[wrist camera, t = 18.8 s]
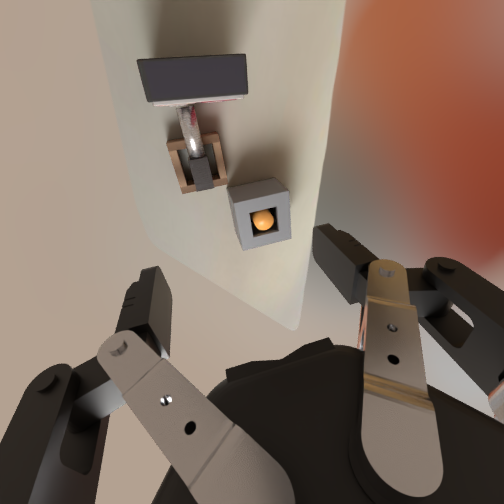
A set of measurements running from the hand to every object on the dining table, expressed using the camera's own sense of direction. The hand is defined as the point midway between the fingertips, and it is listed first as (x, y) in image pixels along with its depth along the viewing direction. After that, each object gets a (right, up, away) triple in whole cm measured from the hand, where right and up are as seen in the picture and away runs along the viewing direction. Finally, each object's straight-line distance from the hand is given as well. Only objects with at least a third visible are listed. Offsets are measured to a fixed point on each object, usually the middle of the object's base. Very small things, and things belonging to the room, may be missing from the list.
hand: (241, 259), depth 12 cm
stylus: (-9, +21, +22) cm, 32 cm away
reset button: (+2, +9, +36) cm, 37 cm away
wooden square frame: (-9, +17, +31) cm, 36 cm away
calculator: (-9, +26, +25) cm, 37 cm away
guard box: (+1, +10, +38) cm, 40 cm away
